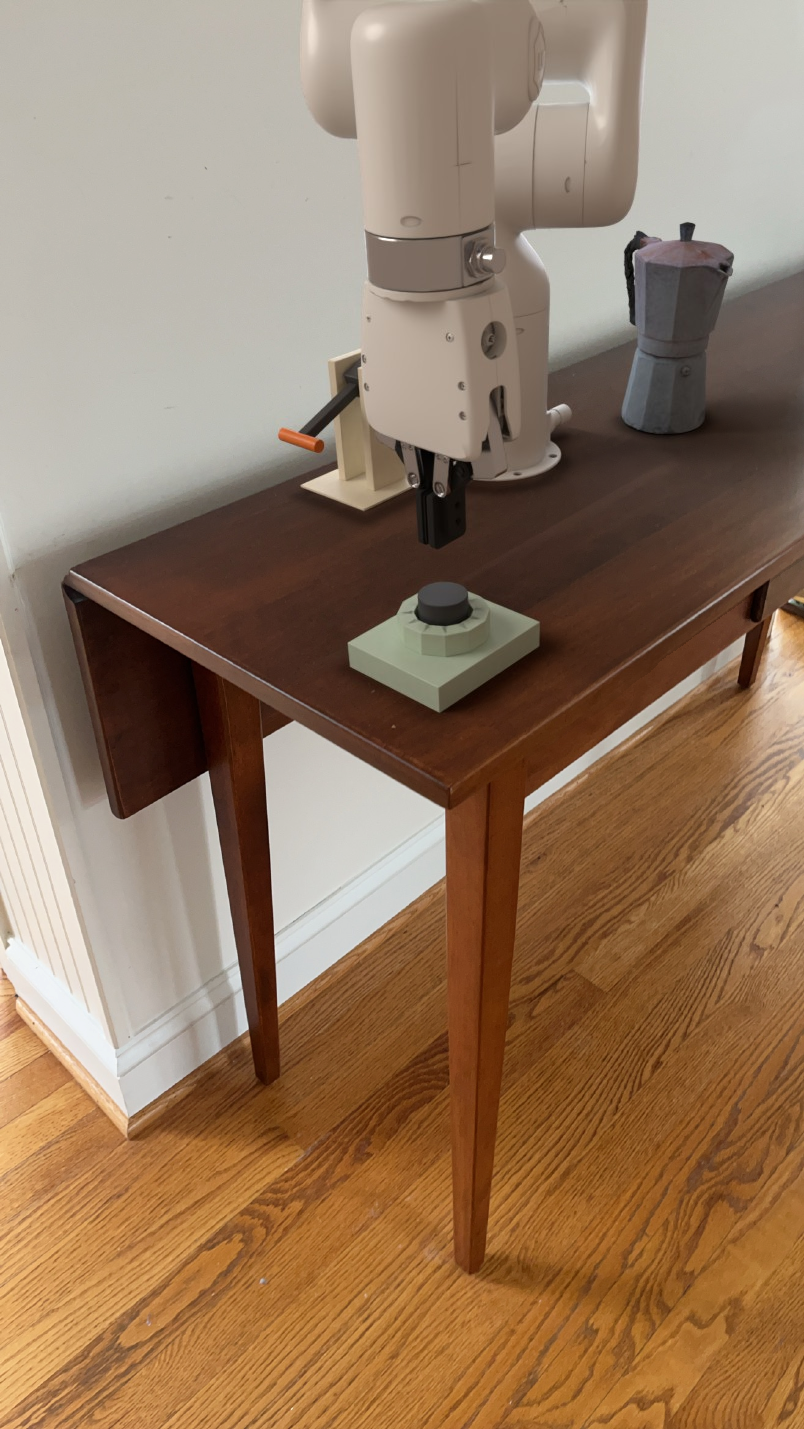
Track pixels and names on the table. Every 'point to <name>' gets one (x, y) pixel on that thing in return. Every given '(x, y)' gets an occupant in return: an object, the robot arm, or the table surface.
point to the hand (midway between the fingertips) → (442, 538)
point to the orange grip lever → (324, 414)
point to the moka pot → (672, 327)
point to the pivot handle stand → (358, 452)
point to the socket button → (443, 604)
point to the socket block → (443, 651)
